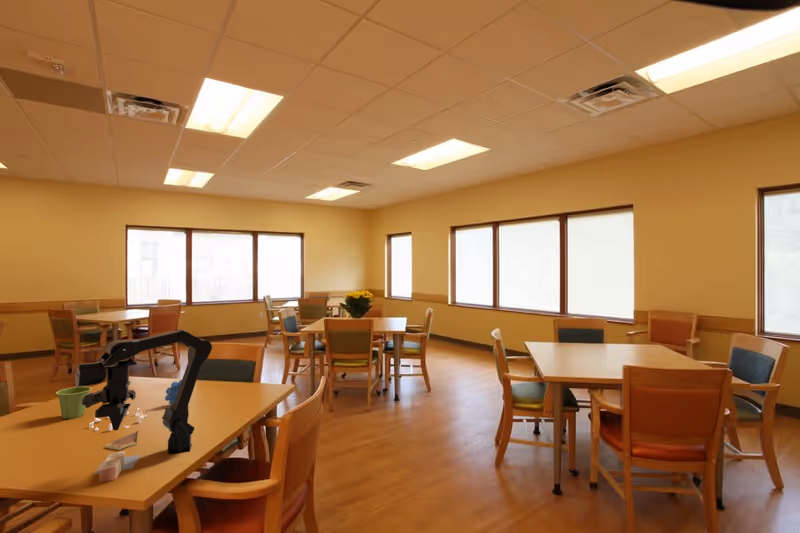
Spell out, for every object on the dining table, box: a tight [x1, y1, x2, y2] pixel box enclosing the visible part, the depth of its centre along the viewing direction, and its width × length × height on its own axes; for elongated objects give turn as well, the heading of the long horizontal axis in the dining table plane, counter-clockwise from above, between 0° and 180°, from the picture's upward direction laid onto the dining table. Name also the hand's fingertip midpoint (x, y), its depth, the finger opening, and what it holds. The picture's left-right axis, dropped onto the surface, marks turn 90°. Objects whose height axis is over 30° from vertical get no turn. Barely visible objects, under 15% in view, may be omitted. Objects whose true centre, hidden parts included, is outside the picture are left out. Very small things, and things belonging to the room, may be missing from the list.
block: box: [98, 451, 126, 483], centre depth 119 cm, size 4×4×10 cm
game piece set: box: [88, 407, 148, 432], centre depth 160 cm, size 19×20×4 cm
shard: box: [104, 430, 139, 451], centre depth 141 cm, size 13×9×2 cm
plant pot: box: [55, 386, 93, 420], centre depth 166 cm, size 12×12×11 cm
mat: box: [94, 454, 141, 475], centre depth 124 cm, size 10×10×1 cm
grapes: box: [164, 378, 183, 406], centre depth 183 cm, size 12×7×12 cm, turn 115°
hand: (115, 429), depth 121 cm, fingers closed
